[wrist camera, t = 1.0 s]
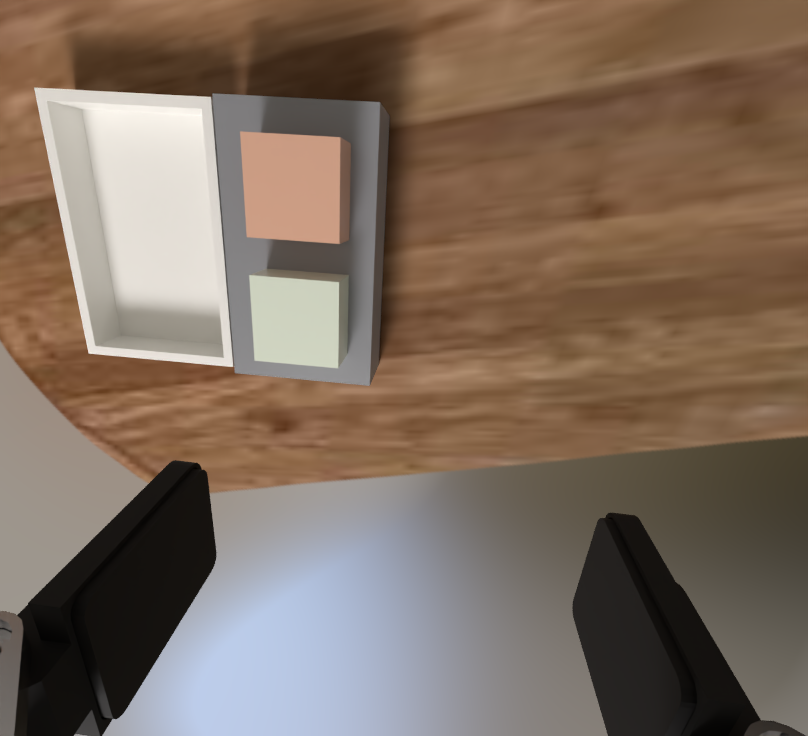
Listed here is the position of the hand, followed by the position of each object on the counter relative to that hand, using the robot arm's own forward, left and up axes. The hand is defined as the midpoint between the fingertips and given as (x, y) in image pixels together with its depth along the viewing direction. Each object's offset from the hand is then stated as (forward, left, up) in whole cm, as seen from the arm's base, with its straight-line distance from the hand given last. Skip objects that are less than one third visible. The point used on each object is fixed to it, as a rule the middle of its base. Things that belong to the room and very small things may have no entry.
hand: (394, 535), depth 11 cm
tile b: (-1, -7, -18) cm, 19 cm away
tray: (-4, -18, -22) cm, 29 cm away
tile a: (-8, -7, -18) cm, 21 cm away
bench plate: (-4, -8, -22) cm, 23 cm away
